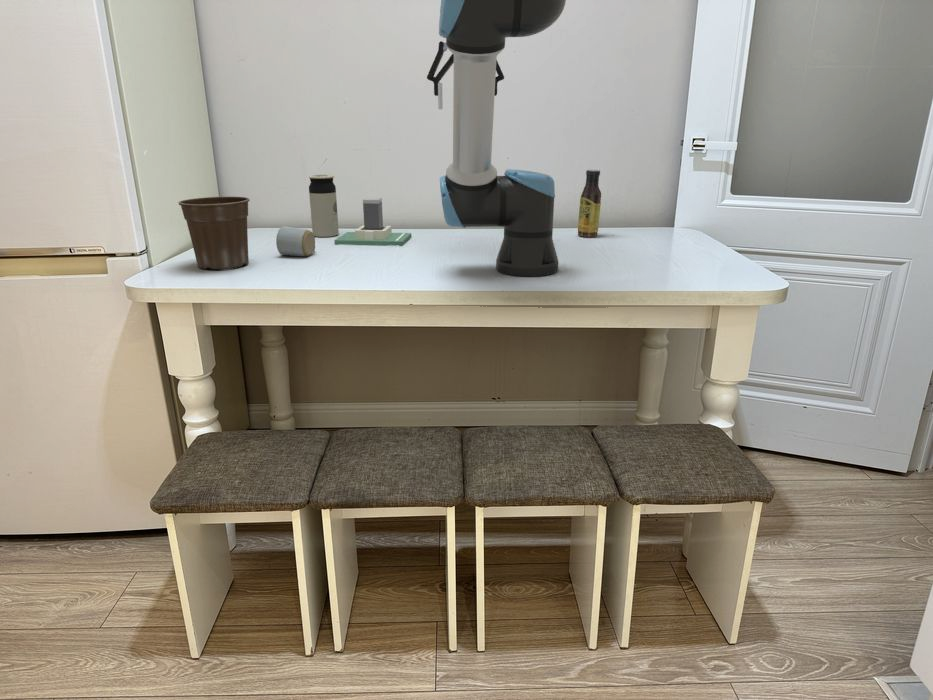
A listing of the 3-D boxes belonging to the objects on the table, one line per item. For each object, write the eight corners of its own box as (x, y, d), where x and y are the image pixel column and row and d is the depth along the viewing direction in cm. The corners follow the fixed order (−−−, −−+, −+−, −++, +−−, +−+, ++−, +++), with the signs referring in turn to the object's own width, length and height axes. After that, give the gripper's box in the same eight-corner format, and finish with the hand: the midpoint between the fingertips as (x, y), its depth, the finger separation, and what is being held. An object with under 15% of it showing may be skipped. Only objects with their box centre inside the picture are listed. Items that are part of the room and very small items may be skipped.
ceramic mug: (305, 259, 169) (303, 229, 166) (276, 257, 171) (274, 228, 168) (322, 251, 179) (321, 223, 176) (295, 250, 180) (293, 222, 178)
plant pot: (179, 264, 163) (169, 199, 158) (241, 255, 173) (234, 194, 167) (201, 276, 152) (191, 206, 146) (267, 266, 161) (260, 200, 156)
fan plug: (379, 238, 190) (378, 200, 186) (364, 237, 191) (362, 199, 187) (383, 235, 194) (381, 198, 191) (368, 235, 195) (366, 197, 191)
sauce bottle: (573, 235, 201) (577, 169, 194) (590, 233, 204) (594, 168, 197) (585, 238, 196) (589, 171, 189) (602, 237, 198) (607, 170, 191)
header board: (402, 245, 185) (402, 232, 184) (334, 244, 187) (333, 231, 186) (411, 236, 198) (411, 224, 197) (347, 235, 200) (347, 223, 199)
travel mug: (307, 236, 199) (302, 176, 192) (320, 232, 206) (316, 174, 200) (331, 238, 196) (326, 177, 190) (343, 233, 204) (339, 174, 197)
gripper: (514, 22, 168) (512, 109, 175) (420, 23, 170) (421, 109, 177) (513, 18, 161) (511, 109, 168) (414, 19, 163) (417, 109, 170)
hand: (465, 109), depth 173 cm, fingers open, 13 cm apart
